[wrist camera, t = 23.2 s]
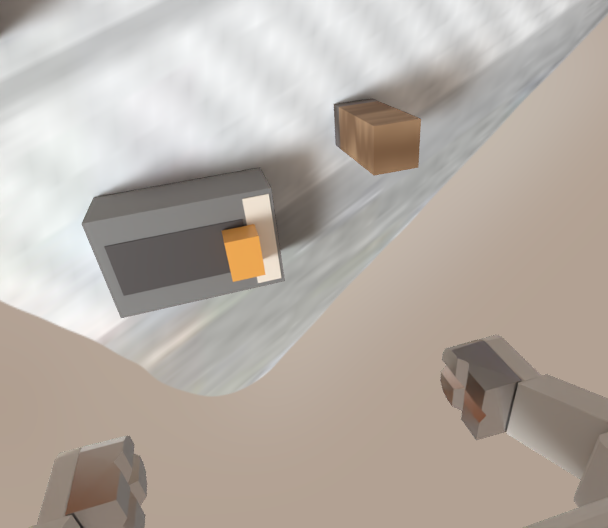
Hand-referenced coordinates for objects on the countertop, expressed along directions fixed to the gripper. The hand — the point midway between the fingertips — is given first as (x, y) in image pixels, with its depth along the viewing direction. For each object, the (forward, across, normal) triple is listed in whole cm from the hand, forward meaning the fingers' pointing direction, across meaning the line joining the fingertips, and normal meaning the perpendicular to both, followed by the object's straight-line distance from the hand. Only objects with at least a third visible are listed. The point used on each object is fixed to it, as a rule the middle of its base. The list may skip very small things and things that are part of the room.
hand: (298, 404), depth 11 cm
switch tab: (+28, 0, +10) cm, 30 cm away
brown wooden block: (+34, -14, +2) cm, 37 cm away
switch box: (+34, +4, +10) cm, 36 cm away
